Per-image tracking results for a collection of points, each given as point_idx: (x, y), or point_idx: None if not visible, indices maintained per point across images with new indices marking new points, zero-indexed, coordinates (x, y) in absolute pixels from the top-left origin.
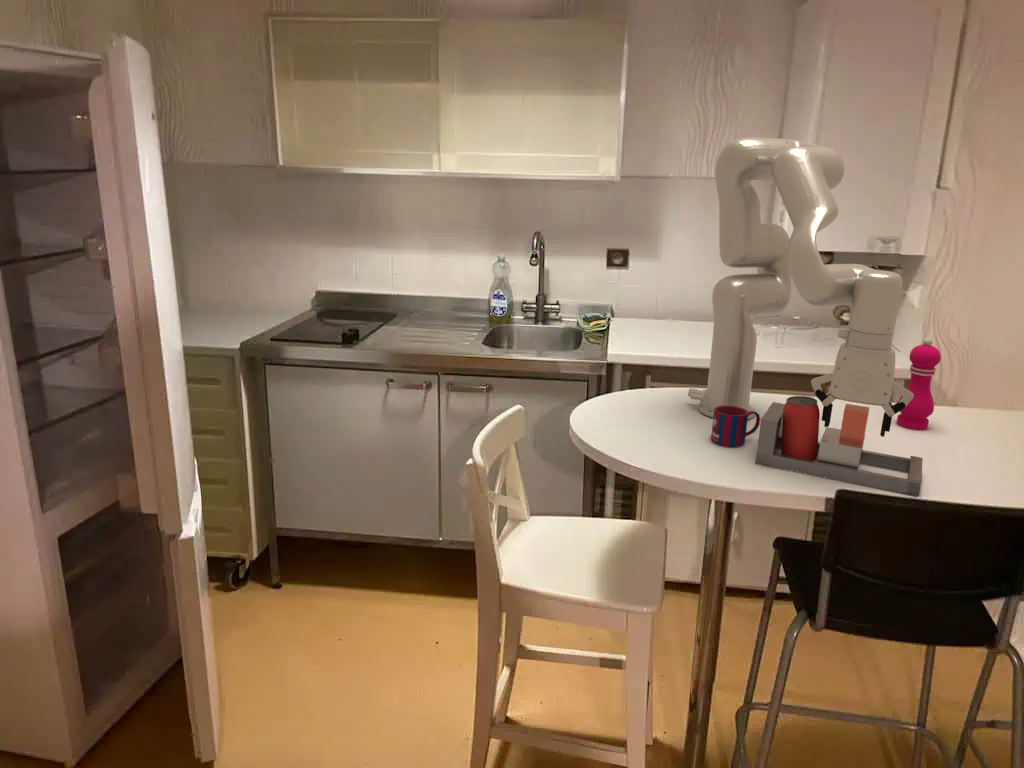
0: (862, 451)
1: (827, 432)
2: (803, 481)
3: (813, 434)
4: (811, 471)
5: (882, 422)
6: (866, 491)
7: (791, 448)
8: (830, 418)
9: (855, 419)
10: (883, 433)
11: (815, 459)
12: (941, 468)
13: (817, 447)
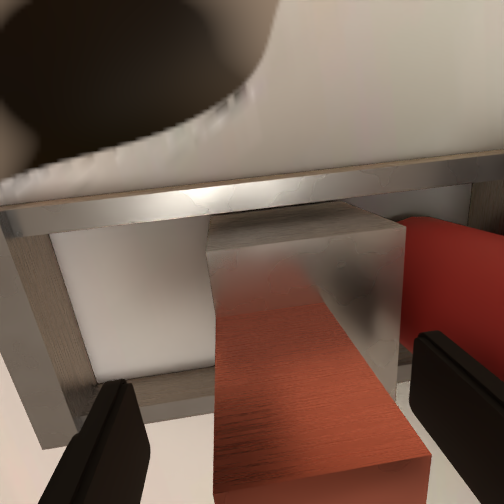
0: None
1: (384, 364)
2: (364, 84)
3: (444, 288)
4: (355, 166)
5: (98, 463)
6: (155, 136)
7: (468, 227)
8: (427, 420)
9: (296, 407)
10: (105, 392)
11: None
12: (32, 469)
13: None
